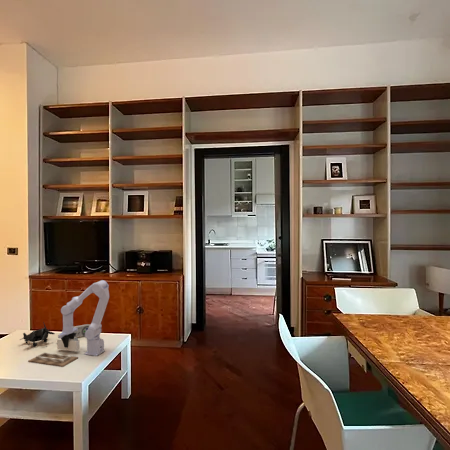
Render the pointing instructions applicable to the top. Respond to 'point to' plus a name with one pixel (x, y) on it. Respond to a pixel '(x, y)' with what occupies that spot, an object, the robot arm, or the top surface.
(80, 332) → the game controller
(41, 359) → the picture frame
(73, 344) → the cream rectangular block
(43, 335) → the airplane toy
